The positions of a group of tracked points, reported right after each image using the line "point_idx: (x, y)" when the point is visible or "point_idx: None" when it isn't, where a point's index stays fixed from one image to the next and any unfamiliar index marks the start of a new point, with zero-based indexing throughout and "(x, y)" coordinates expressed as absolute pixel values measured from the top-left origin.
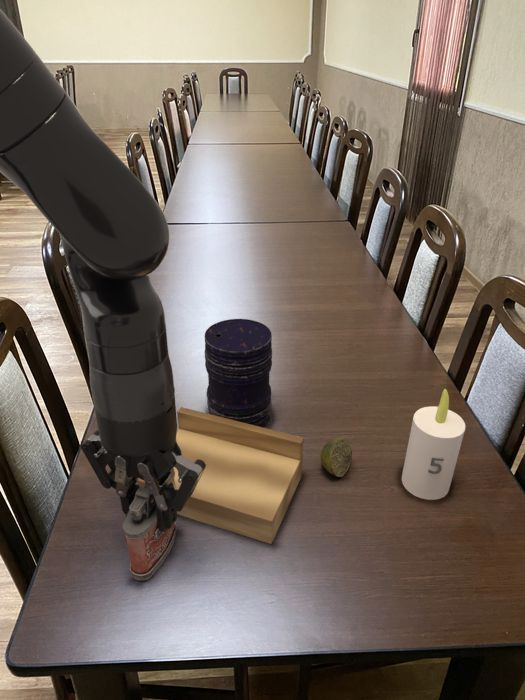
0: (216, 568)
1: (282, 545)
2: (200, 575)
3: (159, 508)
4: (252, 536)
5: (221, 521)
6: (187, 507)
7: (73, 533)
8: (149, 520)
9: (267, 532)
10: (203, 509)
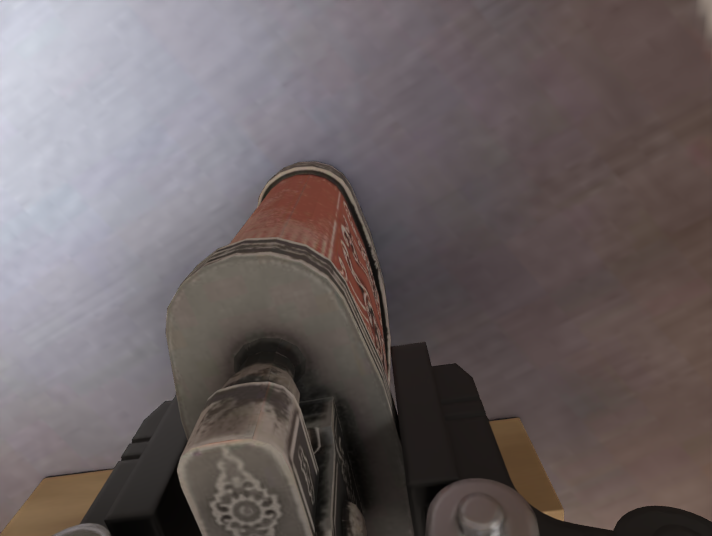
0: (115, 338)
1: (17, 488)
2: (138, 294)
3: (97, 534)
4: (101, 476)
5: None
6: None
7: (677, 202)
8: (204, 403)
9: (25, 518)
10: None
